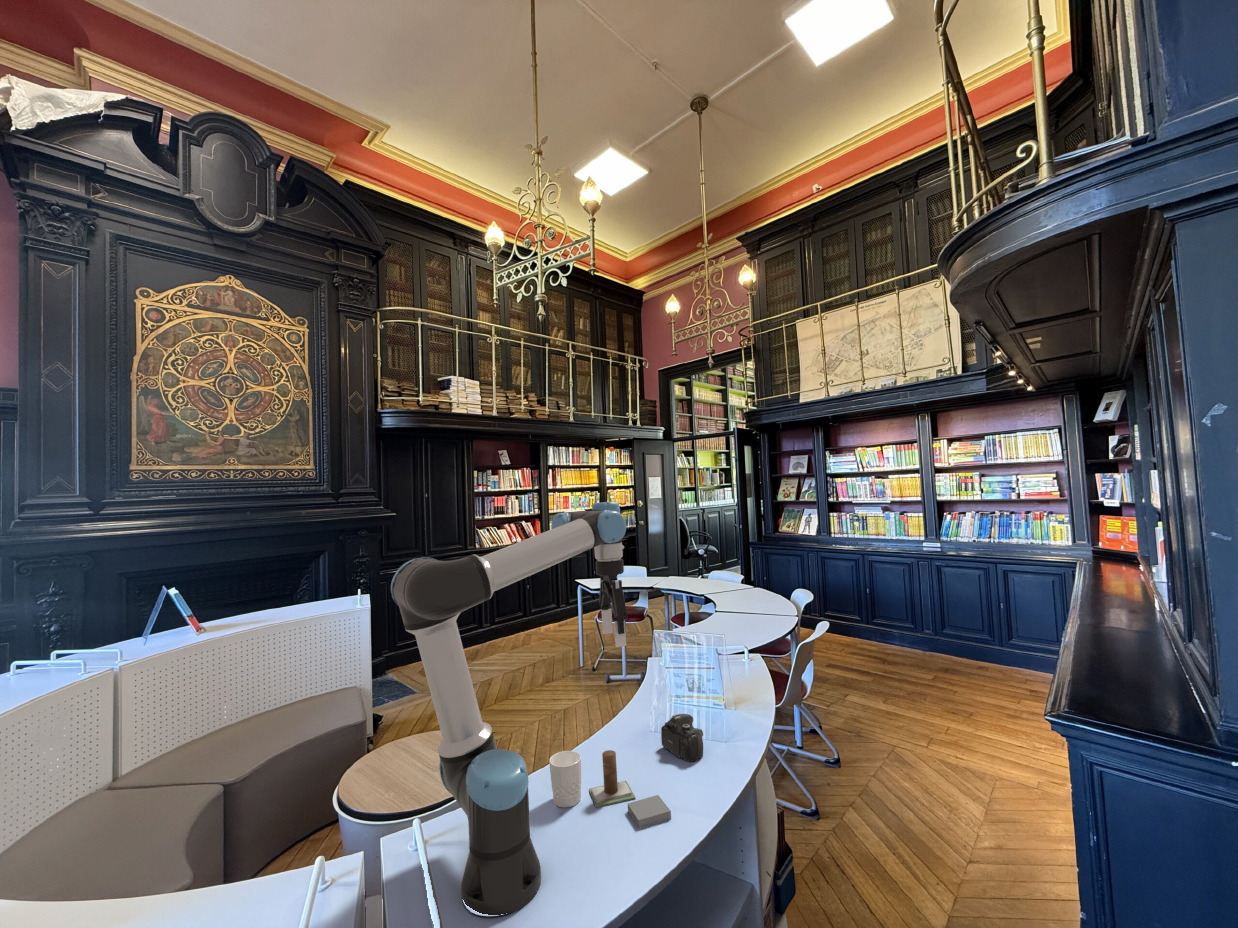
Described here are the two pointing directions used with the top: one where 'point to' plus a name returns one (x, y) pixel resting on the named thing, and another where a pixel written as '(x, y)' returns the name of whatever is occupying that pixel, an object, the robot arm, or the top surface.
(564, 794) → the white cup
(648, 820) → the tile
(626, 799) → the pad
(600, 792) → the wooden handled stamp
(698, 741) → the camera
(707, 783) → the top surface
